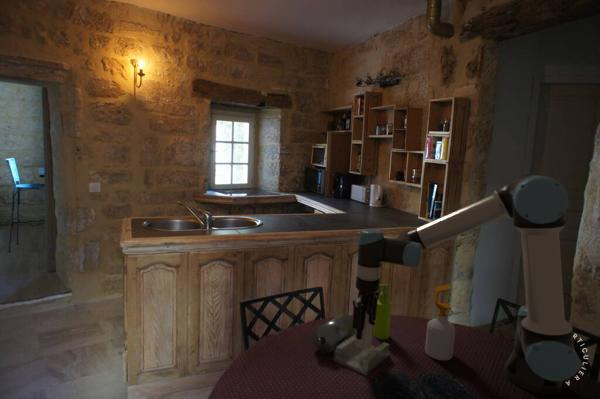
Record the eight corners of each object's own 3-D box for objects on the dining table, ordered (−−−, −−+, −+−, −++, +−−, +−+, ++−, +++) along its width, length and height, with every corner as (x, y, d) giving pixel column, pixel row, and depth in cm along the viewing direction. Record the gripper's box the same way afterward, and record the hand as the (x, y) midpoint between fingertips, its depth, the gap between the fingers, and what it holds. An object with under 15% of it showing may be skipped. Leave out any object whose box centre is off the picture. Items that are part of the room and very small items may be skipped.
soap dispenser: (367, 332, 141) (371, 282, 138) (383, 330, 143) (387, 281, 140) (375, 340, 136) (379, 288, 133) (391, 338, 138) (396, 286, 135)
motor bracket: (389, 355, 126) (391, 330, 125) (362, 378, 112) (364, 351, 111) (336, 332, 140) (337, 310, 139) (306, 351, 126) (307, 326, 125)
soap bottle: (455, 363, 123) (462, 292, 120) (426, 358, 125) (433, 289, 122) (449, 349, 132) (456, 283, 129) (423, 345, 134) (429, 280, 130)
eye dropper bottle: (366, 340, 126) (368, 307, 125) (372, 349, 121) (374, 314, 119) (354, 341, 125) (356, 307, 124) (359, 350, 120) (361, 315, 118)
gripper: (370, 268, 129) (365, 332, 132) (344, 280, 116) (339, 350, 119) (390, 274, 124) (384, 339, 127) (365, 286, 111) (359, 359, 114)
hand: (362, 344), depth 123 cm, fingers closed on eye dropper bottle, 4 cm apart
